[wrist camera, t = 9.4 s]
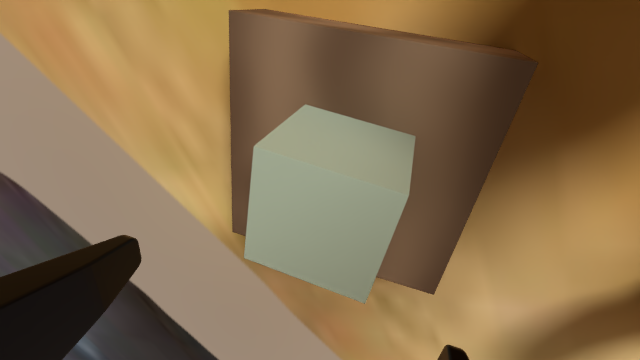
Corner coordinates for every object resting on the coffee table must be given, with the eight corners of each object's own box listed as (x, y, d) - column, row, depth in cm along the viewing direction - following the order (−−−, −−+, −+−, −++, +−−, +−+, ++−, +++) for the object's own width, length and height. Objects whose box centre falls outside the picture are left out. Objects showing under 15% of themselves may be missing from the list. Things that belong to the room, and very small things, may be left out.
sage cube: (415, 135, 14) (409, 195, 9) (381, 225, 16) (365, 303, 12) (305, 104, 14) (253, 146, 10) (290, 194, 17) (243, 258, 13)
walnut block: (513, 49, 15) (538, 62, 11) (433, 247, 21) (433, 294, 17) (269, 9, 17) (228, 10, 13) (261, 198, 23) (232, 231, 20)
